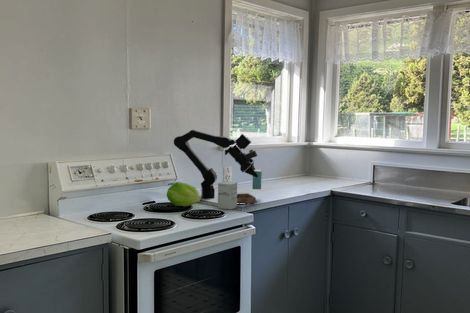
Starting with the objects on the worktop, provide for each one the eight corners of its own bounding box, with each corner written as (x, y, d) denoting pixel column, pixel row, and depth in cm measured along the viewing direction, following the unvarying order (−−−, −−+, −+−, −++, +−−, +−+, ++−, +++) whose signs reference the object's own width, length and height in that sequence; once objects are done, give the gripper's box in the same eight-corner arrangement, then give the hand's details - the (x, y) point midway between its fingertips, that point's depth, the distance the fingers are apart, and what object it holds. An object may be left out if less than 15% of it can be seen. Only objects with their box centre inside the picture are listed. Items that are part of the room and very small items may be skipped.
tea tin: (252, 189, 252) (252, 170, 251) (253, 187, 256) (253, 169, 255) (260, 189, 251) (261, 171, 250) (261, 188, 256) (261, 169, 255)
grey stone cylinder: (217, 208, 230) (217, 183, 229) (224, 205, 237) (224, 180, 236) (230, 209, 227) (230, 184, 226) (237, 207, 234) (237, 182, 232)
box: (231, 204, 238) (231, 199, 238) (225, 199, 251) (224, 194, 250) (255, 203, 242) (255, 197, 241) (248, 198, 254) (248, 193, 254)
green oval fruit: (187, 212, 220) (187, 187, 219) (162, 206, 235) (161, 182, 233) (209, 208, 230) (209, 184, 229) (183, 202, 244) (183, 179, 243)
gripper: (247, 146, 242) (267, 168, 242) (250, 143, 261) (269, 163, 261) (231, 161, 244) (252, 182, 244) (235, 157, 263) (255, 177, 263)
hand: (257, 176), depth 253 cm, fingers closed on tea tin, 4 cm apart
